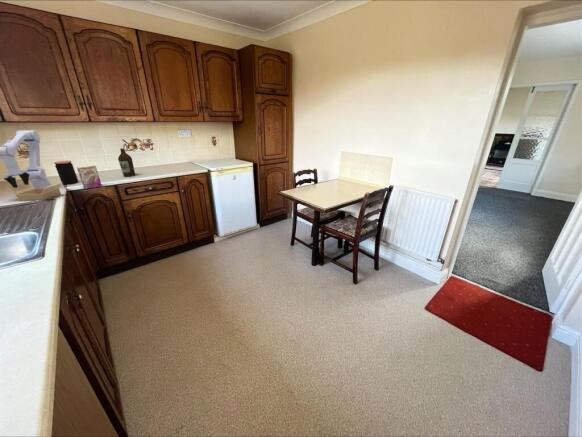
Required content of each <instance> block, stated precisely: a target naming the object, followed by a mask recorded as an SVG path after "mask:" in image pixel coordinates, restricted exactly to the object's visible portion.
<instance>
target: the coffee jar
mask: <svg viewBox="0 0 582 437" xmlns="http://www.w3.org/2000/svg"><path fill="white" fill-rule="evenodd" d="M53 164H54V166H55V169H56V171H57V174H58V177H59V180H60V183H61V182H63V183H62V184H61V185H65V186H67V185H75V184H77V183H79V179H78V176H77V173H76V170H75V168H74V165H73V163H72V160H58V161H54V162H53Z"/></svg>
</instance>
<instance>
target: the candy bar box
mask: <svg viewBox="0 0 582 437" xmlns="http://www.w3.org/2000/svg"><path fill="white" fill-rule="evenodd" d="M76 170H77V172H78V176H79V178H80V182H81V185H82V188H83V189H85V190H88V189H93V188H99V187H102V186H103V185H102V182H101V179H100V175H99V172H98V169H97V166H96V165H93V164H92V165H85V166H77V167H76Z"/></svg>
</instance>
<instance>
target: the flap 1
mask: <svg viewBox="0 0 582 437" xmlns="http://www.w3.org/2000/svg"><path fill="white" fill-rule="evenodd" d="M17 186H18V187H17V188H14V187H13V186H12V185H11V186H8V187H6V190H8V191H10V192H12V193H13V194H15V195H16V194H20V193H23V192H26V191H30V190H33V189H35V188H34V187H33V185H32V184H31V185H30V184H28V185H25V184H24V182H23V183H20V184H17Z"/></svg>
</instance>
